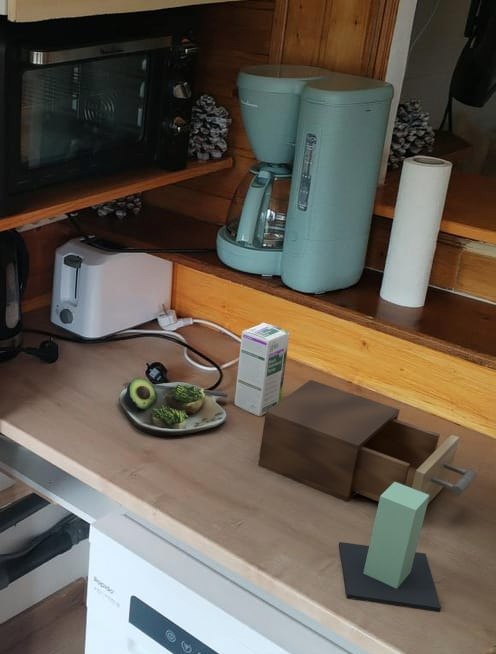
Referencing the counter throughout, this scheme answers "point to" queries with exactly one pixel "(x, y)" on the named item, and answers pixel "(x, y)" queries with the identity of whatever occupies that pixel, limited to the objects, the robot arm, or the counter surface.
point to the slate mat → (363, 587)
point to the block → (395, 534)
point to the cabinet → (321, 436)
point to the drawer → (408, 462)
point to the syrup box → (261, 368)
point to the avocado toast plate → (171, 407)
